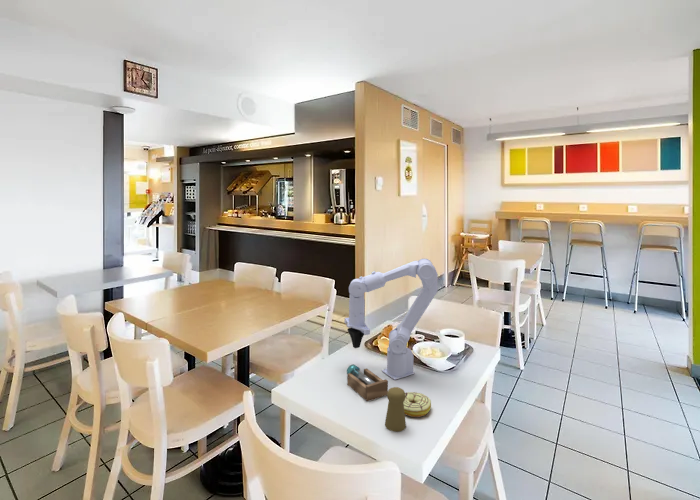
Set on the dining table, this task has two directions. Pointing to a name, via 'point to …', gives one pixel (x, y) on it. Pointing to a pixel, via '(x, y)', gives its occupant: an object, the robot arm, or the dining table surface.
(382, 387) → the housing
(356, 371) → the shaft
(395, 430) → the olive brown pawn
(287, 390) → the dining table surface
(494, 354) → the dining table surface
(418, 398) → the decorated donut
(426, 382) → the dining table surface
